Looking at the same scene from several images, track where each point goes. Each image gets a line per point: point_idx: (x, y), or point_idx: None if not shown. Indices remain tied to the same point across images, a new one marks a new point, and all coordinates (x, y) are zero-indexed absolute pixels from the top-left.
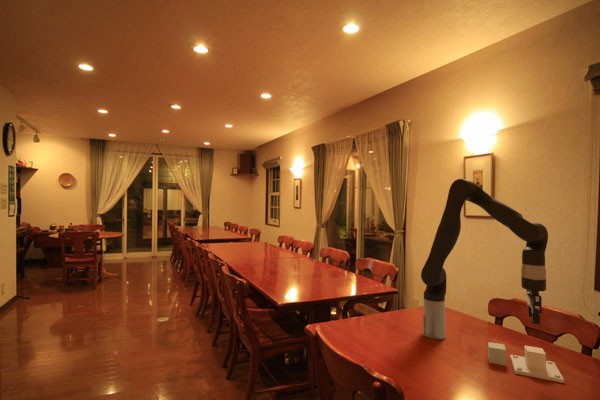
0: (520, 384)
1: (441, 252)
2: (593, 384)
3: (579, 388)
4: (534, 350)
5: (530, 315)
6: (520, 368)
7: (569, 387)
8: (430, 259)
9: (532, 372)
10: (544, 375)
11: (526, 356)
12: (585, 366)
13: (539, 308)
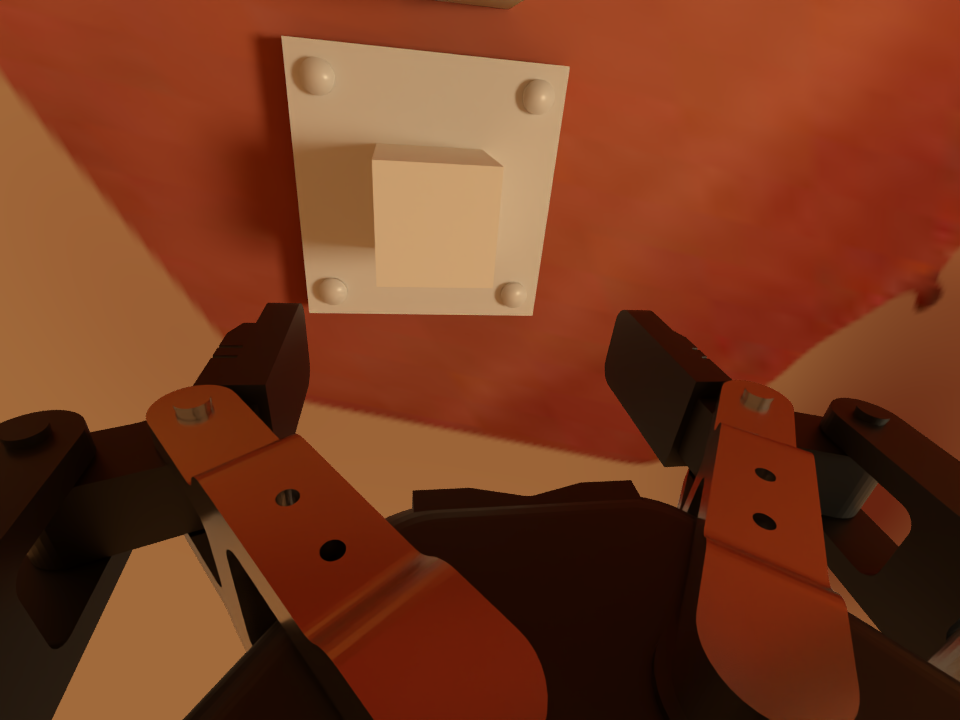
0: (122, 38)
1: None
2: (382, 414)
3: None
4: (419, 223)
5: (619, 332)
6: (312, 83)
7: None
8: None
9: (309, 159)
10: (305, 224)
11: (402, 153)
12: (571, 427)
13: (81, 596)
